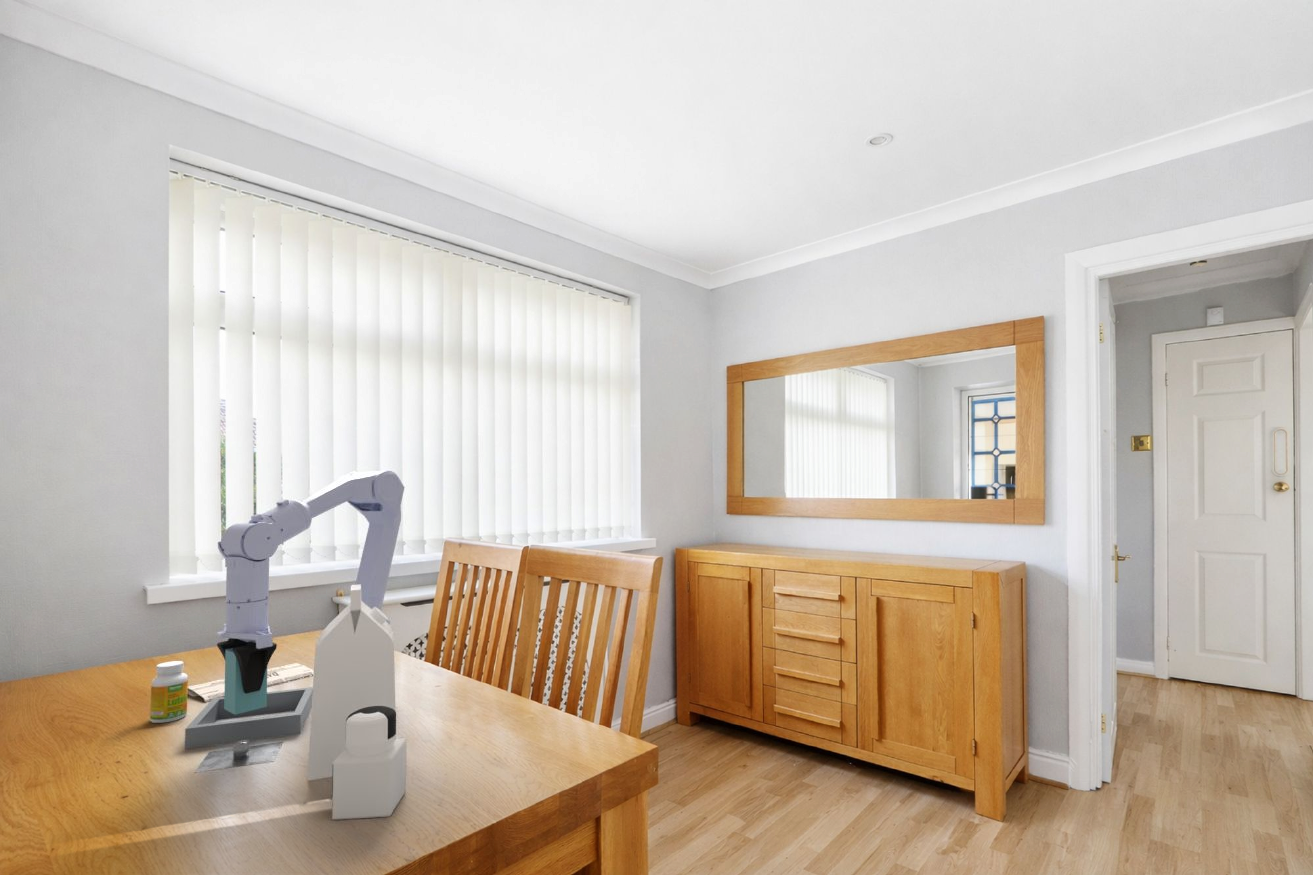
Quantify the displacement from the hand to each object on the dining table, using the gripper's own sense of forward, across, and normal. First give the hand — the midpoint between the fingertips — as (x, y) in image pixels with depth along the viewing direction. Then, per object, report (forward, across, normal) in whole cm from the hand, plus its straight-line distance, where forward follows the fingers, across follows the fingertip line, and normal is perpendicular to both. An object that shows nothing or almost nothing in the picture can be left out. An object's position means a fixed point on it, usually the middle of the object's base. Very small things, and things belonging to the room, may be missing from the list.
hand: (246, 688), depth 104 cm
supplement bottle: (+10, -30, -2) cm, 32 cm away
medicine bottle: (+10, +31, +4) cm, 33 cm away
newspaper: (+11, -42, +15) cm, 46 cm away
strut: (+3, 0, 0) cm, 3 cm away
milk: (+10, +17, +9) cm, 22 cm away
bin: (+10, -11, +5) cm, 16 cm away
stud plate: (+10, +3, -2) cm, 11 cm away
